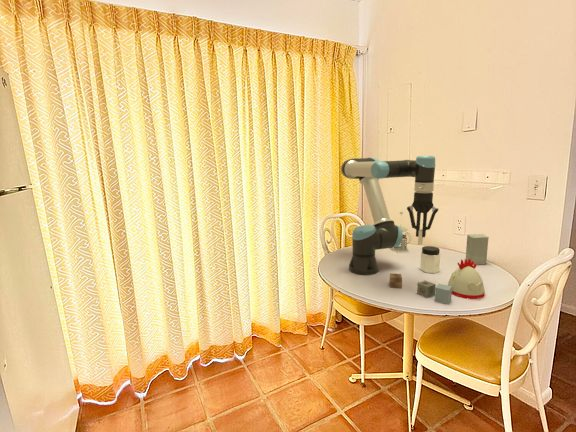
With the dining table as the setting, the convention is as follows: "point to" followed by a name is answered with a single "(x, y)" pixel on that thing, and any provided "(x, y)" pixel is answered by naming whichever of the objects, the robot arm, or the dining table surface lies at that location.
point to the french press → (402, 242)
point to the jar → (430, 259)
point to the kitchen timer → (467, 281)
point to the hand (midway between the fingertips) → (420, 243)
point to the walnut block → (395, 280)
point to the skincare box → (477, 248)
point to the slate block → (443, 293)
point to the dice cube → (426, 289)
